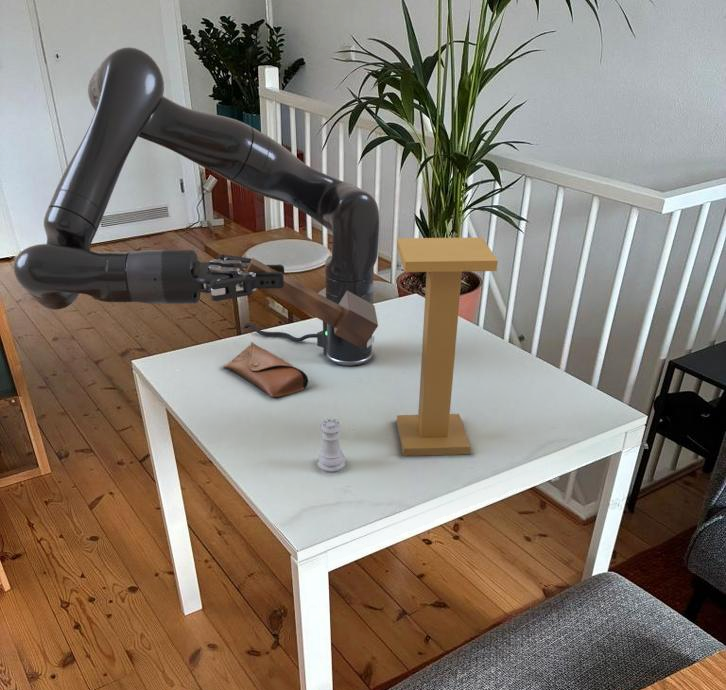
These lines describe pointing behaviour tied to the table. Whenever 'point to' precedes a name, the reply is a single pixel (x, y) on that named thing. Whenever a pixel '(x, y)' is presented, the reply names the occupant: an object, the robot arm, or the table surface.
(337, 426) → the rook chess piece
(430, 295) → the pedestal
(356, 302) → the walnut mallet
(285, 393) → the sunglasses case
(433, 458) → the table surface
